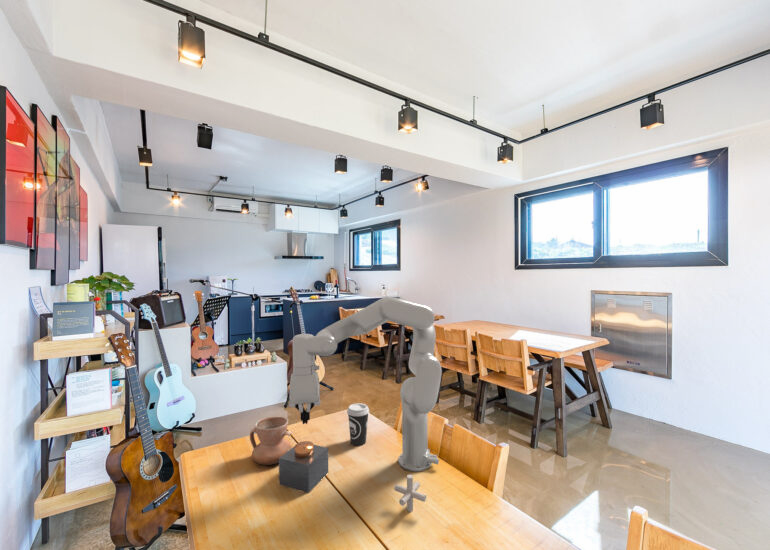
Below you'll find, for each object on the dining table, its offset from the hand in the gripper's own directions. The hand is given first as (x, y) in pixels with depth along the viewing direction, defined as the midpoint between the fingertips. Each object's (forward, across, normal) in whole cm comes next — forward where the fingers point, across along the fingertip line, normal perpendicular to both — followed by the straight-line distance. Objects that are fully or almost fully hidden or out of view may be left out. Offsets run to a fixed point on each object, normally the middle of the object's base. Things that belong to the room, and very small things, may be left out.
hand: (305, 422), depth 116 cm
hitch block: (+20, +1, 0) cm, 20 cm away
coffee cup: (+20, -20, -23) cm, 36 cm away
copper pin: (+19, +1, 0) cm, 19 cm away
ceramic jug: (+20, +15, -15) cm, 29 cm away
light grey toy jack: (+20, -32, +20) cm, 43 cm away
